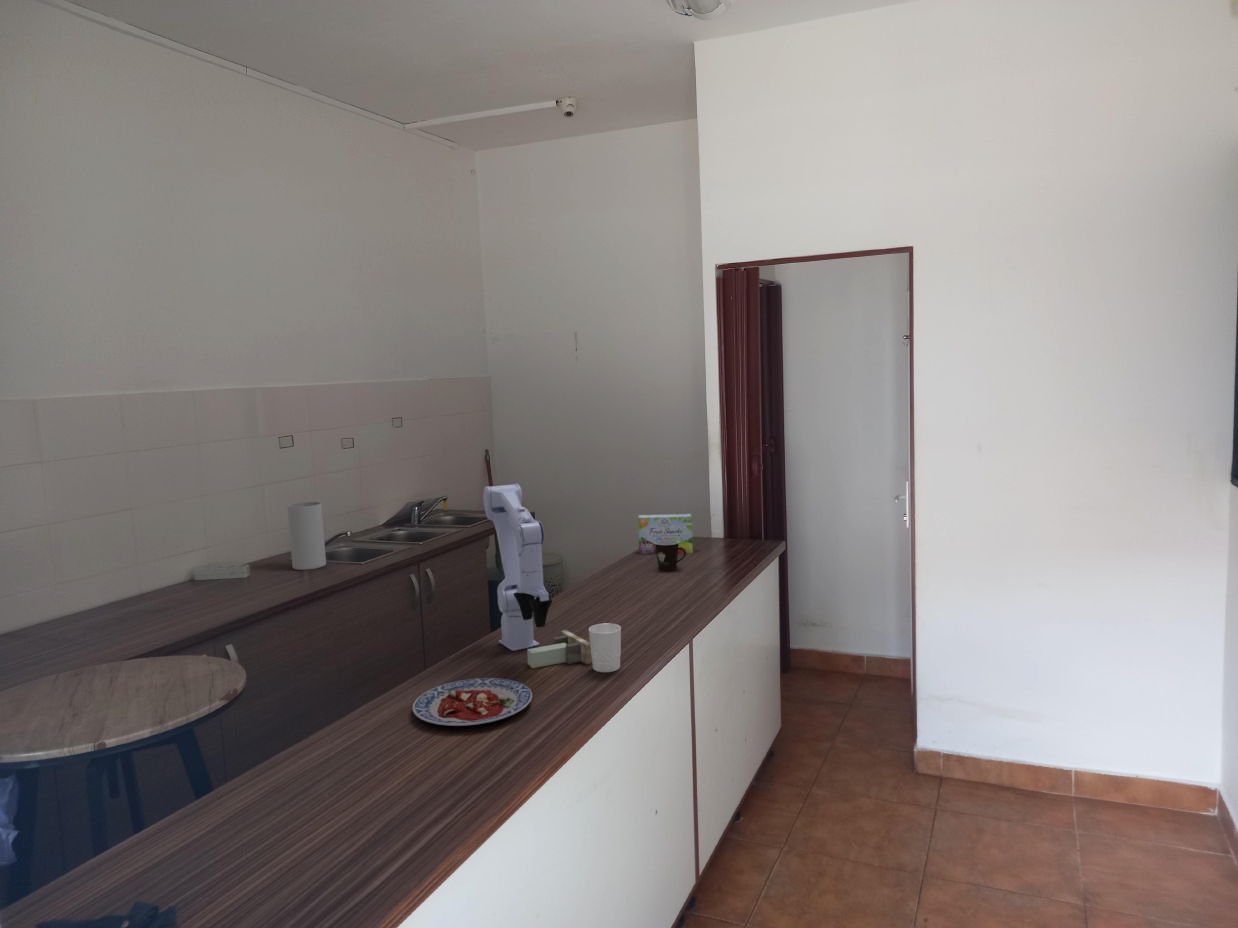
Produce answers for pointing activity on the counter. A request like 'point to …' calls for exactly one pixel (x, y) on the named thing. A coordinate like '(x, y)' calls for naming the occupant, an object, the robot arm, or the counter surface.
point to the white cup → (605, 647)
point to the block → (547, 655)
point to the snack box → (665, 531)
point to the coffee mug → (668, 555)
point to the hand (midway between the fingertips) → (533, 622)
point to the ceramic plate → (472, 701)
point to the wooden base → (574, 647)
